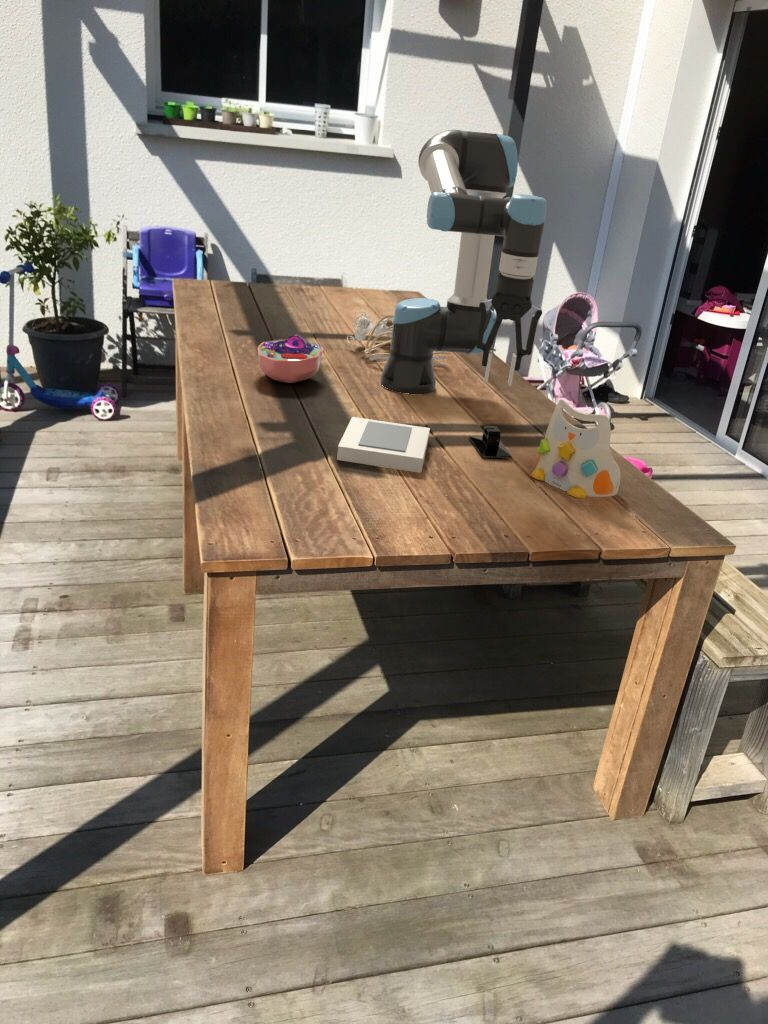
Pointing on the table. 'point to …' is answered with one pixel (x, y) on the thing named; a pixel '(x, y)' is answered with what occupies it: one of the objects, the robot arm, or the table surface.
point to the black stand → (490, 443)
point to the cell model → (289, 359)
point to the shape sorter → (578, 456)
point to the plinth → (384, 444)
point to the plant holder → (379, 335)
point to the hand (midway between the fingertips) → (497, 382)
